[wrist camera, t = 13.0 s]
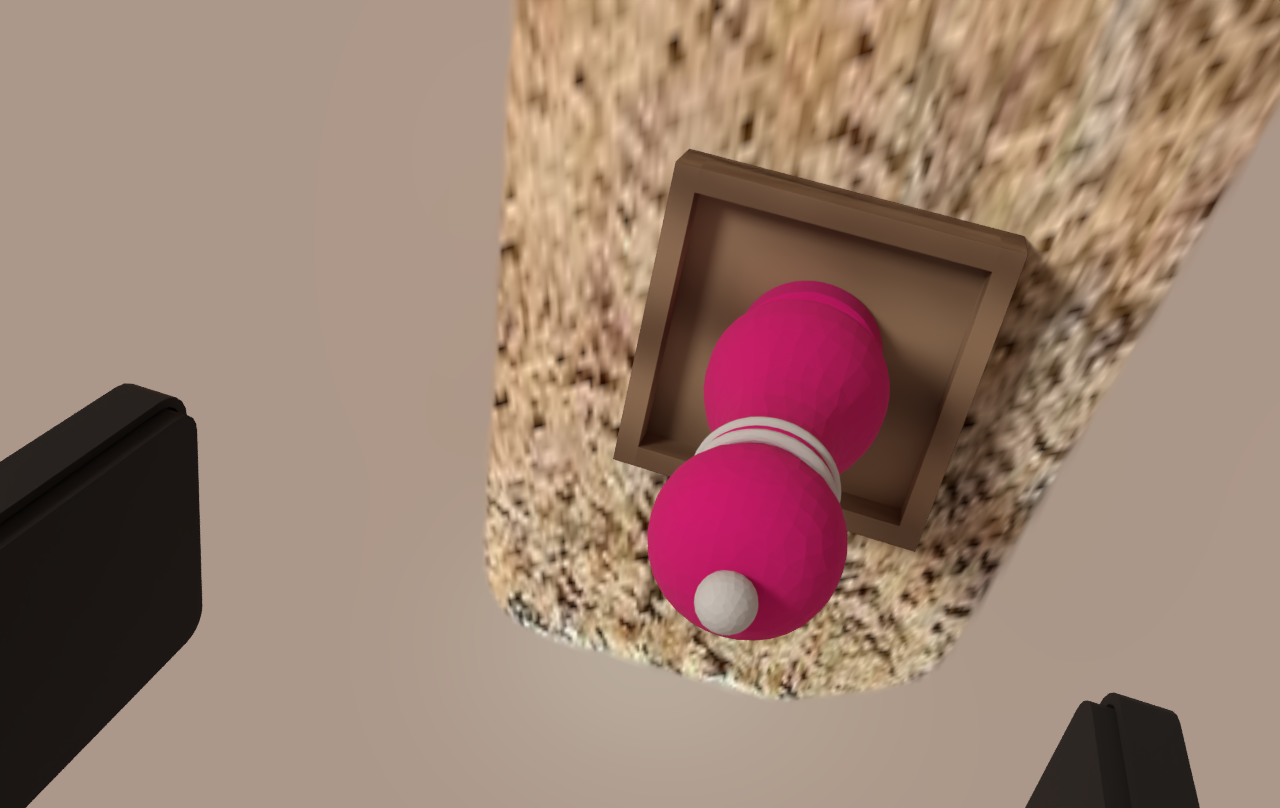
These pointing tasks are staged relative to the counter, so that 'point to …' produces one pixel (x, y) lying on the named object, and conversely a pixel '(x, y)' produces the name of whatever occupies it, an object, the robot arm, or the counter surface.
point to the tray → (844, 257)
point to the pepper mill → (772, 464)
